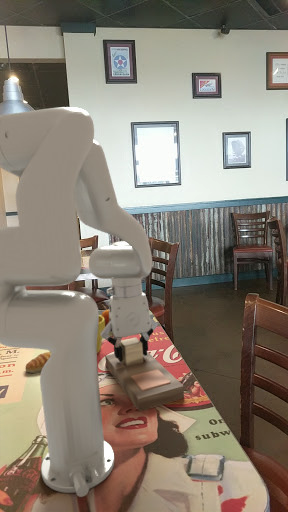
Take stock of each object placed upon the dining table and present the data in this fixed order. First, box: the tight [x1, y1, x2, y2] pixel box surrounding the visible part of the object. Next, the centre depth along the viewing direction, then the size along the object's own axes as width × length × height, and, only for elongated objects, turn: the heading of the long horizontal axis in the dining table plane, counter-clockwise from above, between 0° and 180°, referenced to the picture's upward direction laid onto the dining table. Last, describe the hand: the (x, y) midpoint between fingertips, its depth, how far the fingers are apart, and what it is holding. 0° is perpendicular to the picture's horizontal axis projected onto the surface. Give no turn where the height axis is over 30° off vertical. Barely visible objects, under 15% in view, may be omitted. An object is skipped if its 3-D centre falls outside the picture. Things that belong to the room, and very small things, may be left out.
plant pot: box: [97, 314, 105, 354], centre depth 113 cm, size 10×10×10 cm
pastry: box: [25, 351, 51, 374], centre depth 105 cm, size 9×7×4 cm
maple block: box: [120, 337, 143, 367], centre depth 99 cm, size 4×4×8 cm
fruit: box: [100, 308, 109, 327], centre depth 130 cm, size 8×8×8 cm
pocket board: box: [104, 351, 185, 412], centre depth 94 cm, size 24×11×3 cm, turn 23°
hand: (131, 355), depth 99 cm, fingers open, 6 cm apart
